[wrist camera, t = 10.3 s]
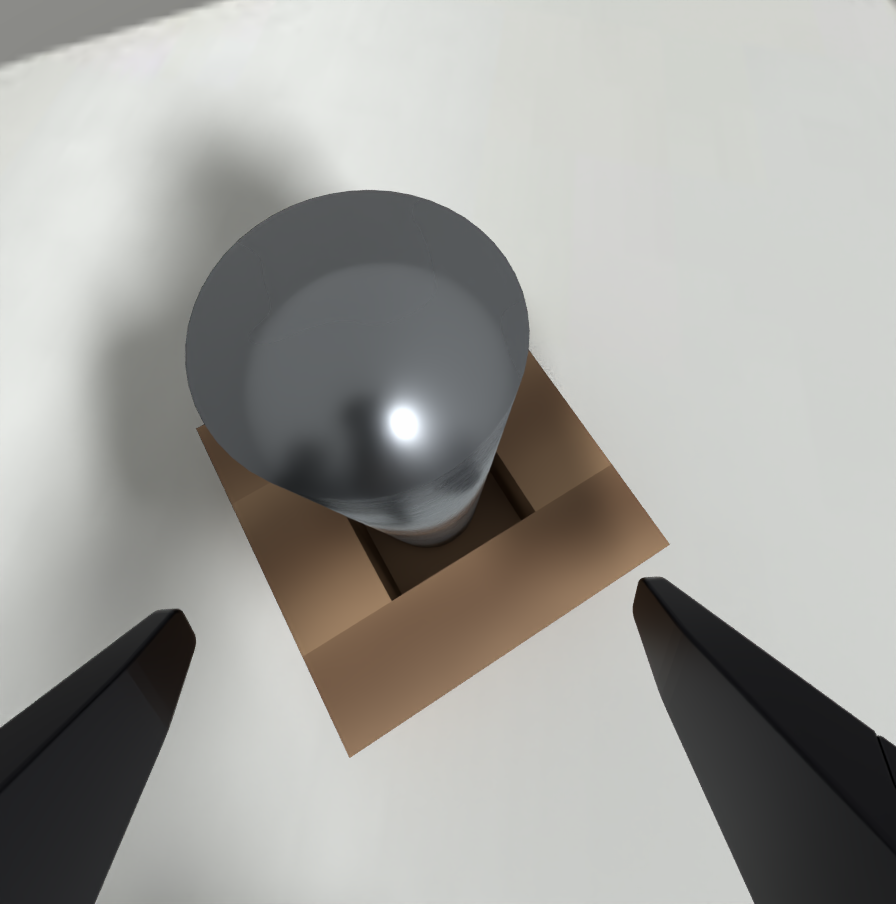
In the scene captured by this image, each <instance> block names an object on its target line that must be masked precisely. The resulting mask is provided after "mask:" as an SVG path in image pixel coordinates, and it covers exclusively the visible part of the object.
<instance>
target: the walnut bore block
mask: <svg viewBox="0 0 896 904" xmlns="http://www.w3.org/2000/svg"><path fill="white" fill-rule="evenodd" d="M196 429H197V431H198V433H199V436H200V438H201V440H202V442H203V444H204V446H205V449H206V451H207V453H208V455H209V457H210V459H211V461H212V464H213V466H214V468H215V470H216V472H217V474H218V476H219V479H220V481H221V483H222V485H223V487H224V489H225V491H226V494H227V496H228V498H229V500H230V502H231V504H232V507H233V509H234V511H235V513H236V515H237V517H238V519H239V522H240V524H241V526H242V528H243V530H244V532H245V534H246V537H247V539H248V541H249V543H250V545H251V547H252V549H253V552H254V554H255V556H256V558H257V560H258V562H259V564H260V567H261V569H262V571H263V573H264V575H265V577H266V580H267V582H268V584H269V586H270V588H271V590H272V592H273V595H274V597H275V599H276V601H277V603H278V605H279V607H280V610H281V612H282V614H283V616H284V618H285V620H286V622H287V625H288V627H289V629H290V631H291V633H292V635H293V638H294V640H295V642H296V644H297V646H298V648H299V650H300V653H301V655H302V657H303V659H304V661H305V663H306V665H307V668H308V670H309V672H310V674H311V676H312V678H313V680H314V683H315V685H316V687H317V689H318V691H319V693H320V695H321V698H322V700H323V702H324V704H325V706H326V708H327V711H328V713H329V715H330V717H331V719H332V721H333V723H334V726H335V728H336V730H337V732H338V734H339V736H340V738H341V741H342V743H343V745H344V747H345V749H346V751H347V753H348V756H349V758H350V757H352V756H353V755H355V754H356V753H358V752H359V751H361V750H362V749H364V748H365V747H367V746H368V745H370V744H371V743H373V742H374V741H376V740H377V739H379V738H380V737H382V736H383V735H385V734H386V733H388V732H389V731H391V730H392V729H394V728H395V727H397V726H398V725H400V724H401V723H403V722H404V721H406V720H407V719H409V718H410V717H412V716H413V715H415V714H416V713H418V712H419V711H421V710H422V709H424V708H425V707H427V706H428V705H430V704H431V703H433V702H434V701H436V700H437V699H439V698H440V697H442V696H443V695H445V694H446V693H448V692H449V691H451V690H452V689H454V688H455V687H457V686H458V685H460V684H461V683H463V682H464V681H466V680H467V679H469V678H470V677H472V676H473V675H475V674H476V673H478V672H479V671H481V670H482V669H484V668H485V667H487V666H488V665H490V664H491V663H493V662H494V661H496V660H497V659H499V658H500V657H502V656H503V655H505V654H506V653H508V652H509V651H511V650H512V649H514V648H515V647H517V646H518V645H520V644H521V643H523V642H524V641H526V640H527V639H529V638H530V637H532V636H533V635H535V634H536V633H538V632H539V631H541V630H542V629H544V628H545V627H547V626H548V625H550V624H551V623H553V622H554V621H556V620H557V619H559V618H560V617H562V616H563V615H565V614H566V613H568V612H569V611H571V610H572V609H574V608H575V607H577V606H578V605H580V604H581V603H583V602H584V601H586V600H587V599H589V598H590V597H592V596H593V595H595V594H596V593H598V592H599V591H601V590H602V589H604V588H605V587H607V586H608V585H610V584H611V583H613V582H614V581H616V580H617V579H619V578H620V577H622V576H623V575H625V574H626V573H628V572H629V571H631V570H632V569H634V568H635V567H637V566H638V565H640V564H641V563H643V562H644V561H646V560H647V559H649V558H650V557H652V556H653V555H655V554H656V553H658V552H659V551H661V550H662V549H664V548H665V547H667V546H668V545H670V544H669V543H668V541H667V540H666V538H665V537H664V536H663V534H662V533H661V532H660V530H659V529H658V527H657V526H656V525H655V523H654V522H653V521H652V519H651V518H650V516H649V515H648V514H647V512H646V511H645V509H644V508H643V507H642V505H641V504H640V503H639V501H638V500H637V498H636V497H635V496H634V494H633V493H632V492H631V490H630V489H629V487H628V486H627V485H626V483H625V482H624V481H623V479H622V478H621V476H620V475H619V474H618V472H617V471H616V469H615V468H614V467H613V465H612V464H611V463H610V461H609V460H608V458H607V457H606V456H605V454H604V453H603V452H602V450H601V449H600V447H599V446H598V445H597V443H596V442H595V441H594V439H593V438H592V436H591V435H590V434H589V432H588V431H587V429H586V428H585V427H584V425H583V424H582V423H581V421H580V420H579V418H578V417H577V416H576V414H575V413H574V412H573V410H572V409H571V407H570V406H569V405H568V403H567V402H566V401H565V399H564V398H563V396H562V395H561V394H560V392H559V391H558V389H557V388H556V387H555V385H554V384H553V383H552V381H551V380H550V378H549V377H548V376H547V374H546V373H545V372H544V370H543V369H542V367H541V366H540V365H539V363H538V362H537V361H536V359H535V358H534V356H533V355H532V354H531V352H530V351H529V350H528V356H527V361H526V366H525V371H524V374H523V377H522V380H521V383H520V386H519V388H518V391H517V394H516V397H515V400H514V402H513V405H512V408H511V411H510V414H509V416H508V419H507V422H506V425H505V428H504V430H503V433H502V436H501V439H500V442H499V445H498V447H497V450H496V453H495V456H494V459H493V461H492V464H491V467H490V470H489V473H488V475H487V478H486V481H485V484H484V487H483V489H482V492H481V495H480V498H479V501H478V504H477V506H476V509H475V512H474V515H473V518H472V520H471V522H470V524H469V525H468V527H467V528H466V529H465V530H464V532H463V533H462V534H461V535H459V536H458V537H457V538H456V539H454V540H453V541H451V542H449V543H447V544H444V545H441V546H437V547H429V548H425V547H418V546H413V545H411V544H408V543H406V542H403V541H401V540H399V539H397V538H394V537H392V536H390V535H388V534H385V533H383V532H381V531H379V530H376V529H374V528H372V527H370V526H367V525H365V524H363V523H361V522H358V521H356V520H354V519H351V518H349V517H347V516H345V515H342V514H340V513H338V512H336V511H333V510H331V509H329V508H327V507H324V506H322V505H320V504H318V503H315V502H313V501H311V500H309V499H306V498H304V497H302V496H300V495H297V494H295V493H293V492H290V491H288V490H286V489H284V488H281V487H279V486H277V485H275V484H272V483H270V482H268V481H267V480H265V479H263V478H261V477H259V476H258V475H256V474H254V473H252V472H250V471H249V470H248V469H246V468H245V467H244V466H242V465H241V464H240V463H238V462H237V461H236V460H235V459H233V458H232V457H231V456H230V455H229V454H228V453H227V452H226V451H225V450H224V449H223V448H222V447H221V446H220V445H219V444H218V443H217V441H216V440H215V439H214V437H213V436H212V434H211V433H210V432H209V430H208V429H207V427H206V426H205V424H204V425H202V426H200V427H198V428H196Z"/></svg>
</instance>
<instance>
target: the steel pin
mask: <svg viewBox="0 0 896 904" xmlns="http://www.w3.org/2000/svg"><path fill="white" fill-rule="evenodd" d="M185 349H186V371H187V378H188V384H189V388H190V391H191V394H192V398H193V401H194V404H195V406H196V408H197V410H198V412H199V414H200V417H201V419H202V421H203V423H204V424H205V426H206V427H207V429H208V430H209V432H210V433H211V434H212V436H213V437H214V439H215V440H216V441H217V443H218V444H219V445H220V446H221V447H222V448H223V449H224V450H225V451H226V452H227V453H228V454H229V455H230V456H231V457H232V458H233V459H235V460H236V461H237V462H238V463H240V464H241V465H242V466H244V467H245V468H246V469H248V470H249V471H250V472H252V473H254V474H256V475H258V476H259V477H261V478H263V479H265V480H267V481H268V482H270V483H272V484H275V485H277V486H279V487H281V488H284V489H286V490H288V491H290V492H293V493H295V494H297V495H300V496H302V497H304V498H306V499H309V500H311V501H313V502H315V503H318V504H320V505H322V506H324V507H327V508H329V509H331V510H333V511H336V512H338V513H340V514H342V515H345V516H347V517H349V518H351V519H354V520H356V521H358V522H361V523H363V524H365V525H367V526H370V527H372V528H374V529H376V530H379V531H381V532H383V533H385V534H388V535H390V536H392V537H394V538H397V539H399V540H401V541H403V542H406V543H408V544H411V545H413V546H418V547H425V548H429V547H437V546H441V545H444V544H447V543H449V542H451V541H453V540H454V539H456V538H457V537H458V536H459V535H461V534H462V533H463V532H464V530H465V529H466V528H467V527H468V525H469V524H470V522H471V520H472V518H473V515H474V512H475V509H476V506H477V504H478V501H479V498H480V495H481V492H482V489H483V487H484V484H485V481H486V478H487V475H488V473H489V470H490V467H491V464H492V461H493V459H494V456H495V453H496V450H497V447H498V445H499V442H500V439H501V436H502V433H503V430H504V428H505V425H506V422H507V419H508V416H509V414H510V411H511V408H512V405H513V402H514V400H515V397H516V394H517V391H518V388H519V386H520V383H521V380H522V377H523V374H524V371H525V366H526V361H527V356H528V350H529V321H528V311H527V307H526V303H525V299H524V295H523V291H522V289H521V286H520V284H519V282H518V279H517V277H516V274H515V272H514V271H513V269H512V267H511V266H510V264H509V262H508V261H507V259H506V257H505V256H504V255H503V253H502V252H501V251H500V250H499V248H498V247H497V246H496V245H495V243H494V242H493V241H492V240H491V239H490V238H489V237H488V236H487V235H486V234H485V233H484V232H483V231H481V230H480V229H479V228H478V227H477V226H475V225H474V224H473V223H471V222H470V221H469V220H467V219H466V218H464V217H463V216H461V215H459V214H457V213H456V212H454V211H452V210H450V209H449V208H447V207H444V206H442V205H440V204H437V203H435V202H432V201H430V200H427V199H423V198H420V197H416V196H413V195H409V194H403V193H397V192H392V191H378V190H360V191H346V192H340V193H333V194H328V195H324V196H320V197H316V198H312V199H309V200H306V201H304V202H301V203H298V204H296V205H293V206H290V207H288V208H286V209H284V210H282V211H280V212H278V213H276V214H274V215H272V216H271V217H269V218H268V219H266V220H265V221H263V222H261V223H260V224H258V225H257V226H255V227H254V228H253V229H251V230H250V231H249V232H248V233H247V234H245V235H244V236H243V237H242V238H240V239H239V240H238V241H237V242H236V243H235V244H234V245H233V246H232V247H231V248H230V249H229V250H228V251H227V252H226V253H225V254H224V256H223V257H222V258H221V260H220V261H219V262H218V263H217V265H216V266H215V267H214V269H213V270H212V271H211V273H210V275H209V276H208V278H207V280H206V281H205V283H204V285H203V286H202V288H201V291H200V293H199V295H198V298H197V300H196V302H195V304H194V307H193V311H192V314H191V318H190V321H189V325H188V331H187V338H186V345H185Z"/></svg>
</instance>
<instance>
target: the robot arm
mask: <svg viewBox="0 0 896 904" xmlns="http://www.w3.org/2000/svg"><path fill="white" fill-rule="evenodd" d="M633 616H634V620H635V623H636V626H637V629H638V631H639V634H640V637H641V640H642V643H643V646H644V649H645V652H646V655H647V658H648V661H649V664H650V667H651V670H652V673H653V676H654V679H655V682H656V685H657V687H658V690H659V693H660V696H661V698H662V700H663V703H664V705H665V708H666V710H667V712H668V714H669V717H670V719H671V721H672V723H673V725H674V728H675V730H676V732H677V734H678V736H679V739H680V741H681V743H682V745H683V747H684V750H685V752H686V754H687V756H688V758H689V761H690V763H691V765H692V767H693V769H694V772H695V774H696V776H697V778H698V780H699V783H700V785H701V787H702V789H703V791H704V794H705V796H706V798H707V800H708V803H709V805H710V807H711V809H712V811H713V814H714V816H715V818H716V820H717V822H718V825H719V827H720V829H721V831H722V833H723V836H724V838H725V840H726V842H727V844H728V847H729V849H730V851H731V853H732V855H733V858H734V860H735V862H736V864H737V866H738V869H739V871H740V873H741V875H742V877H743V880H744V882H745V884H746V886H747V888H748V891H749V893H750V895H751V897H752V900H753V902H754V904H896V746H895V745H893V744H892V743H891V742H889V741H888V740H887V739H885V738H884V737H882V736H879V735H878V736H877V735H876V733H875V731H874V730H873V729H871V728H870V727H868V726H867V725H866V724H864V723H863V722H862V721H860V720H859V719H857V718H856V717H855V716H853V715H852V714H851V713H849V712H848V711H846V710H845V709H844V708H842V707H841V706H840V705H838V704H837V703H835V702H834V701H833V700H831V699H830V698H829V697H827V696H826V695H824V694H823V693H822V692H820V691H819V690H818V689H816V688H815V687H813V686H812V685H811V684H809V683H808V682H807V681H805V680H804V679H802V678H801V677H800V676H798V675H797V674H796V673H794V672H793V671H791V670H790V669H789V668H787V667H786V666H785V665H783V664H782V663H780V662H779V661H778V660H776V659H775V658H774V657H772V656H771V655H769V654H768V653H767V652H765V651H764V650H763V649H761V648H760V647H758V646H757V645H756V644H754V643H753V642H752V641H750V640H749V639H747V638H746V637H745V636H743V635H742V634H741V633H739V632H738V631H736V630H735V629H734V628H732V627H731V626H730V625H728V624H727V623H726V622H724V621H723V620H721V619H720V618H719V617H717V616H716V615H715V614H713V613H712V612H710V611H709V610H708V609H706V608H705V607H704V606H702V605H701V604H699V603H698V602H697V601H695V600H694V599H693V598H691V597H690V596H688V595H687V594H686V593H684V592H683V591H682V590H680V589H679V588H677V587H676V586H675V585H673V584H672V583H671V582H669V581H668V580H666V579H665V578H663V577H645V578H641V579H640V580H639V582H638V586H637V590H636V594H635V599H634V603H633ZM195 646H196V637H195V634H194V632H193V630H192V628H191V626H190V624H189V622H188V620H187V618H186V616H185V615H184V613H183V611H181V610H180V609H162V610H157V611H155V612H153V613H152V614H150V615H149V616H148V617H147V618H145V619H144V620H143V621H141V622H140V623H139V624H137V625H136V626H135V627H133V628H132V629H131V630H129V631H128V632H127V633H125V634H124V635H123V636H121V637H120V638H119V639H117V640H116V641H115V642H113V643H112V644H111V645H109V646H108V647H107V648H105V649H104V650H103V651H101V652H100V653H99V654H97V655H96V656H95V657H94V658H92V659H91V660H90V661H88V662H87V663H86V664H84V665H83V666H82V667H80V668H79V669H78V670H76V671H75V672H74V673H72V674H71V675H70V676H68V677H67V678H66V679H64V680H63V681H62V682H60V683H59V684H58V685H56V686H55V687H54V688H52V689H51V690H50V691H48V692H47V693H46V694H44V695H43V696H42V697H41V698H39V699H38V700H37V701H35V702H34V703H33V704H31V705H30V706H29V707H27V708H26V709H25V710H23V711H22V712H21V713H19V714H18V715H17V716H15V717H14V718H13V719H11V720H10V721H9V722H7V723H6V724H5V725H3V726H2V727H1V728H0V904H95V902H96V899H97V897H98V895H99V892H100V890H101V888H102V885H103V883H104V881H105V878H106V876H107V874H108V871H109V869H110V867H111V864H112V862H113V860H114V857H115V855H116V853H117V850H118V848H119V846H120V843H121V841H122V838H123V836H124V834H125V831H126V829H127V827H128V824H129V822H130V820H131V817H132V815H133V813H134V810H135V808H136V806H137V803H138V801H139V799H140V796H141V794H142V792H143V789H144V787H145V785H146V782H147V780H148V777H149V775H150V773H151V770H152V768H153V766H154V763H155V761H156V759H157V756H158V754H159V752H160V749H161V747H162V745H163V742H164V740H165V737H166V735H167V732H168V730H169V727H170V724H171V721H172V718H173V715H174V712H175V709H176V706H177V703H178V700H179V697H180V694H181V691H182V687H183V684H184V681H185V678H186V675H187V672H188V669H189V666H190V662H191V659H192V656H193V653H194V650H195Z"/></svg>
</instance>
